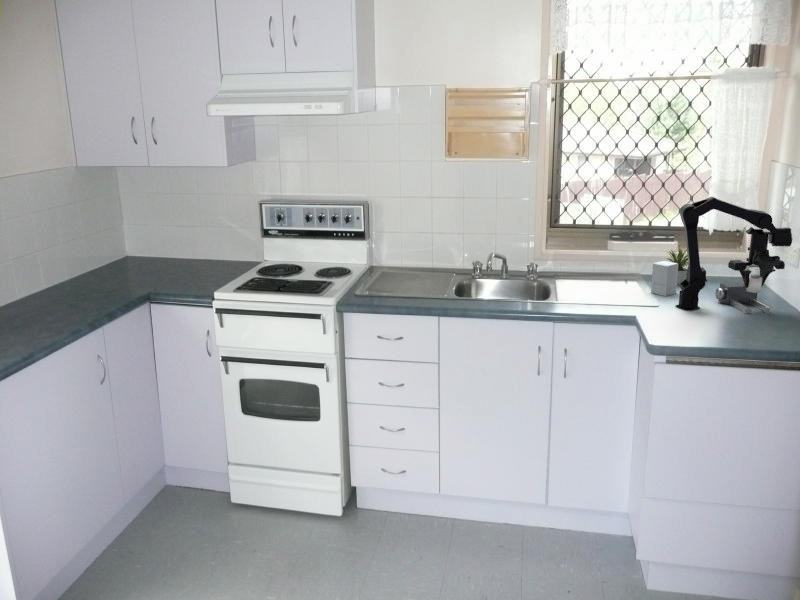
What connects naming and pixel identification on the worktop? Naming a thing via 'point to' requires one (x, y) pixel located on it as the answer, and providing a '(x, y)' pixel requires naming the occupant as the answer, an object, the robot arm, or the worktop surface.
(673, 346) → the worktop surface
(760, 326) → the worktop surface
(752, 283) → the bottle
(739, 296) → the motor clip
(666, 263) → the supplement box
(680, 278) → the house plant
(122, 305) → the worktop surface
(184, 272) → the worktop surface
